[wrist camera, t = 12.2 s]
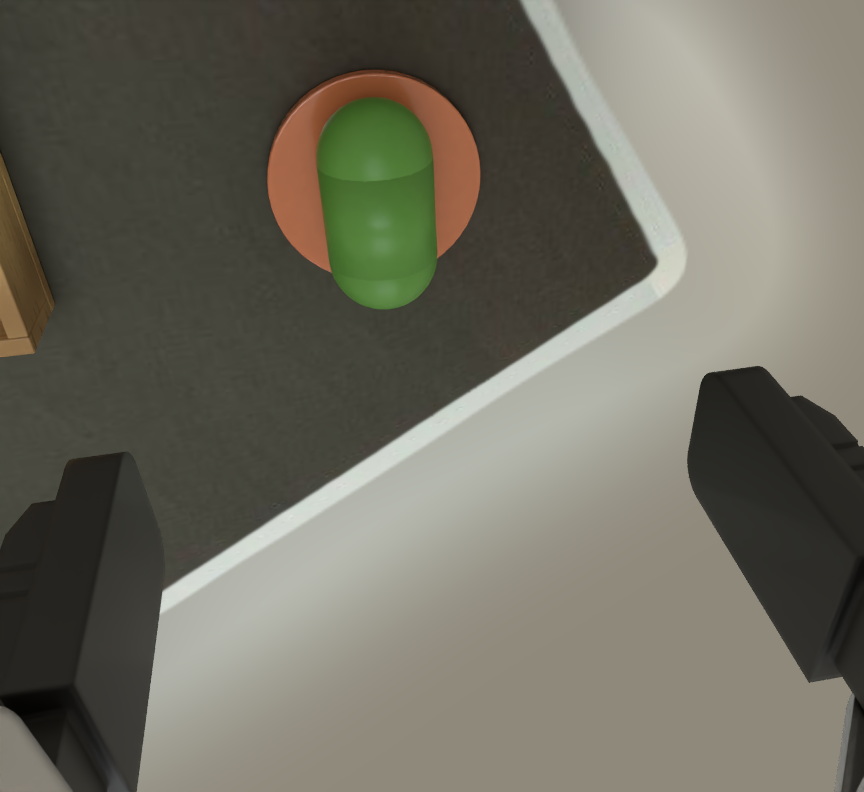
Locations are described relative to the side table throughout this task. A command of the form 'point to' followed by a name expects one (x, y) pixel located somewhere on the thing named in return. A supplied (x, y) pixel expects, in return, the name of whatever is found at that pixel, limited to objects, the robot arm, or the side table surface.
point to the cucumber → (378, 202)
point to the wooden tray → (19, 279)
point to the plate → (297, 169)
